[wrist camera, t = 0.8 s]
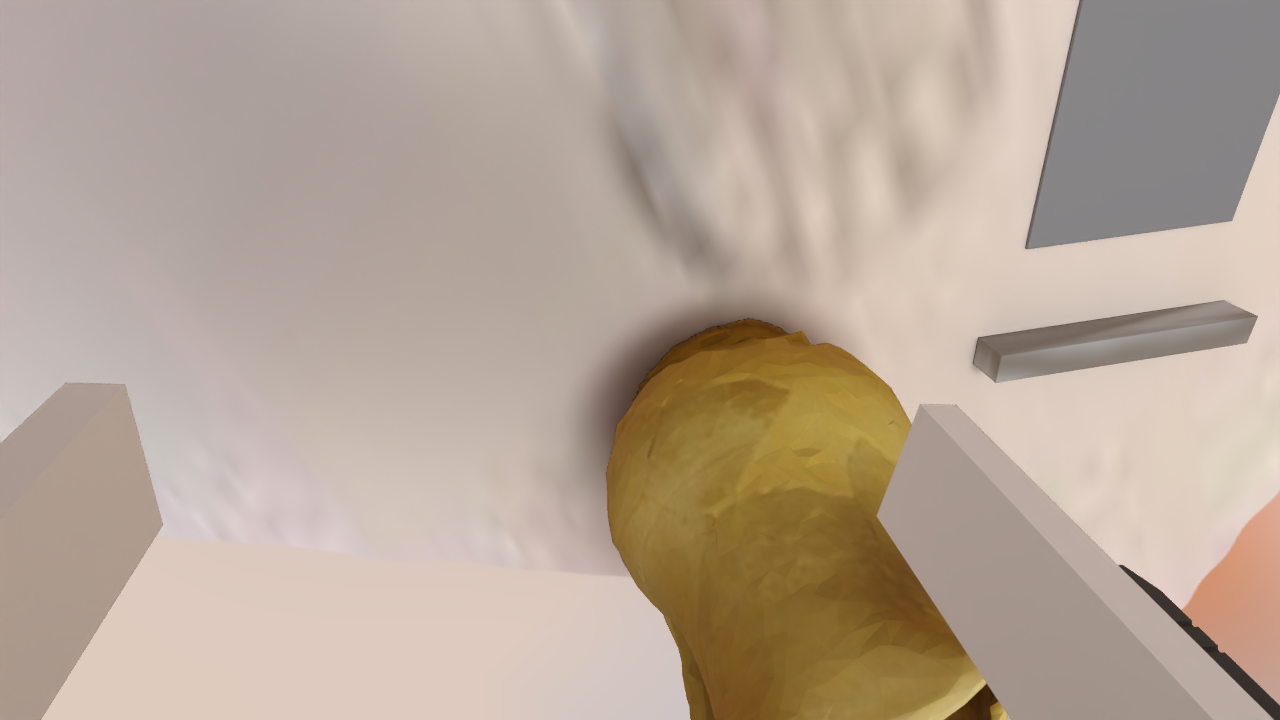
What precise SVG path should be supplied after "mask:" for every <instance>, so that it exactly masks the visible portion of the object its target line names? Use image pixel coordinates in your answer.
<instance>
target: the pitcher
mask: <svg viewBox="0 0 1280 720" xmlns="http://www.w3.org/2000/svg"><path fill="white" fill-rule="evenodd" d="M782 330H783V329H782V328H780V327H773V325H772V324H769V323H762V322H761V321H760V320H754V319H751V320H750V319H749V318H748V319H747V320H745V319H744V320H743V321H741V320H739V321H736V322H735V323H734V324H730V323H729V324H728V325H725V326H717V328H714V327H710V329H706V331H704V332H701V333H699V334H698V335H696V334H695V336H694V337H692V336H691V338H689V339H688V341H686V342H685V341H684V342H681V343H679V344H677V345H675V346H673V347H672V348H671V349H670V351H669V352H668V353H667V354H666V356H664V357H663V358H662V359H661V361H660V362H659V364H658V366H656V367H655V369H653V370H651V372H650V373H649V374H647V375H646V380H645V381H644V382H642V383H641V384H640V385H639V388H640V389H639V391H637V396H636V397H635V399H634V400H633V403H632V405H631V407H630V408H629V410H628V411H627V413H626V414H625V416H624V417H623V418H622V419H621V421H620V422H619V423H618V424H617V426H616V435H615V439H614V443H613V448H612V452H611V457H610V460H609V463H608V468H607V472H606V480H607V509H608V518H609V526H610V531H611V536H612V541H613V543H614V545H615V546H616V548H617V549H618V551H619V553H620V556H621V558H622V561H623V563H624V564H625V566H626V568H627V569H628V571H629V573H630V575H631V576H632V578H633V580H634V581H635V583H636V585H637V586H638V588H639V589H640V590H641V591H642V592H643V593H644V595H645V596H646V597H647V598H648V599H649V600H650V602H651V603H652V604H653V605H654V606H655V607H657V608H658V609H659V610H660V612H661V613H662V614H663V615H664V618H665V621H666V623H667V625H668V627H669V629H670V631H671V634H672V636H673V638H674V640H675V642H676V644H677V646H678V648H679V653H680V657H681V661H682V675H683V680H684V686H685V691H686V696H687V700H688V703H689V706H690V719H691V720H1006V719H1007V717H1008V715H1007V713H1006V712H1005V710H1004V709H1003V707H1002V706H1001V704H1000V703H999V701H998V700H997V698H996V697H995V695H994V693H993V692H992V690H991V689H990V687H989V686H988V684H987V683H986V681H985V680H984V678H983V677H982V675H981V674H980V672H979V671H978V669H977V668H976V666H975V665H974V663H973V662H972V660H971V659H970V657H969V656H968V654H967V653H966V651H965V650H964V648H963V646H962V645H961V643H960V642H959V640H958V639H957V637H956V636H955V634H954V633H953V631H952V630H951V628H950V627H949V625H948V624H947V622H946V621H945V619H944V618H943V616H942V615H941V613H940V612H939V610H938V609H937V607H936V606H935V604H934V603H933V601H932V600H931V598H930V596H929V595H928V593H927V592H926V590H925V589H924V587H923V586H922V584H921V583H920V581H919V580H918V578H917V577H916V575H915V574H914V572H913V571H912V569H911V568H910V566H909V565H908V563H907V562H906V560H905V559H904V557H903V556H902V554H901V553H900V551H899V549H898V548H897V546H896V545H895V543H894V542H893V540H892V539H891V537H890V536H889V534H888V533H887V531H886V530H885V528H884V527H883V525H882V524H881V522H880V521H879V519H878V518H877V513H878V511H879V508H880V506H881V503H882V501H883V498H884V495H885V493H886V490H887V488H888V485H889V483H890V480H891V477H892V475H893V472H894V470H895V467H896V465H897V462H898V459H899V457H900V454H901V452H902V449H903V447H904V444H905V441H906V439H907V436H908V434H909V431H910V429H911V426H912V425H911V422H910V420H909V419H908V417H907V415H906V413H905V411H904V409H903V408H902V406H901V404H900V402H899V400H898V399H897V397H896V395H895V394H894V392H893V390H892V389H891V387H890V386H888V385H887V384H886V383H885V382H884V381H883V380H882V379H881V378H880V377H878V376H877V375H876V374H875V373H874V372H872V371H871V370H870V369H869V368H868V367H867V366H865V365H864V364H863V363H861V362H860V361H859V360H857V359H856V358H855V357H854V356H852V355H851V354H849V353H848V352H846V351H844V350H843V349H841V348H839V347H836V346H834V345H832V344H829V343H823V344H817V345H810V343H809V341H808V340H807V338H806V337H805V335H804V333H803V332H802V331H799V332H796V333H792V334H787V333H786V332H784V331H782Z"/></svg>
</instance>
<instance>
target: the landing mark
mask: <svg viewBox="0 0 1280 720" xmlns="http://www.w3.org/2000/svg"><path fill="white" fill-rule="evenodd" d="M1279 94H1280V0H1080V4H1079V9H1078V13H1077V18H1076V22H1075V27H1074V31H1073V36H1072V40H1071V45H1070V49H1069V54H1068V58H1067V63H1066V67H1065V72H1064V76H1063V81H1062V85H1061V90H1060V95H1059V99H1058V104H1057V108H1056V113H1055V117H1054V122H1053V126H1052V131H1051V135H1050V140H1049V144H1048V149H1047V153H1046V158H1045V162H1044V167H1043V171H1042V176H1041V180H1040V185H1039V189H1038V194H1037V198H1036V203H1035V208H1034V212H1033V217H1032V221H1031V226H1030V230H1029V235H1028V239H1027V244H1026V249H1033V248H1040V247H1048V246H1055V245H1062V244H1069V243H1076V242H1084V241H1091V240H1098V239H1105V238H1112V237H1120V236H1127V235H1134V234H1141V233H1148V232H1156V231H1163V230H1170V229H1177V228H1185V227H1192V226H1199V225H1206V224H1213V223H1221V222H1228V221H1232V219H1233V217H1234V214H1235V211H1236V209H1237V206H1238V203H1239V201H1240V198H1241V195H1242V193H1243V190H1244V187H1245V185H1246V182H1247V179H1248V177H1249V174H1250V171H1251V169H1252V166H1253V163H1254V161H1255V158H1256V155H1257V153H1258V150H1259V147H1260V145H1261V142H1262V139H1263V137H1264V134H1265V131H1266V129H1267V126H1268V123H1269V121H1270V118H1271V115H1272V113H1273V110H1274V107H1275V105H1276V102H1277V99H1278V97H1279Z"/></svg>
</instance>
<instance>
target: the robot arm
mask: <svg viewBox="0 0 1280 720" xmlns="http://www.w3.org/2000/svg"><path fill="white" fill-rule="evenodd" d="M877 518H878V519H879V521H880V522H881V524H882V525H883V527H884V528H885V530H886V531H887V533H888V534H889V536H890V537H891V539H892V540H893V542H894V543H895V545H896V546H897V548H898V549H899V551H900V553H901V554H902V556H903V557H904V559H905V560H906V562H907V563H908V565H909V566H910V568H911V569H912V571H913V572H914V574H915V575H916V577H917V578H918V580H919V581H920V583H921V584H922V586H923V587H924V589H925V590H926V592H927V593H928V595H929V596H930V598H931V600H932V601H933V603H934V604H935V606H936V607H937V609H938V610H939V612H940V613H941V615H942V616H943V618H944V619H945V621H946V622H947V624H948V625H949V627H950V628H951V630H952V631H953V633H954V634H955V636H956V637H957V639H958V640H959V642H960V643H961V645H962V646H963V648H964V650H965V651H966V653H967V654H968V656H969V657H970V659H971V660H972V662H973V663H974V665H975V666H976V668H977V669H978V671H979V672H980V674H981V675H982V677H983V678H984V680H985V681H986V683H987V684H988V686H989V687H990V689H991V690H992V692H993V693H994V695H995V697H996V698H997V700H998V701H999V703H1000V704H1001V706H1002V707H1003V709H1004V710H1005V712H1006V713H1007V715H1008V716H1009V718H1010V719H1011V720H1280V705H1279V704H1278V703H1276V701H1274V700H1273V699H1272V698H1271V697H1270V696H1269V695H1268V694H1267V693H1266V692H1265V691H1264V690H1263V689H1262V688H1261V687H1260V686H1259V685H1258V684H1257V683H1256V682H1255V681H1254V680H1253V679H1252V678H1251V677H1250V676H1249V675H1248V674H1246V673H1245V672H1244V671H1243V670H1242V669H1241V668H1240V667H1239V666H1238V665H1237V664H1236V663H1235V662H1234V661H1233V660H1232V659H1231V658H1230V657H1229V656H1228V655H1227V654H1226V653H1221V652H1219V651H1218V645H1216V644H1215V643H1214V642H1213V641H1212V640H1211V639H1210V638H1209V637H1208V636H1207V635H1206V634H1205V633H1204V632H1203V631H1202V630H1201V629H1200V628H1199V627H1193V625H1192V621H1191V619H1189V618H1188V617H1187V616H1186V615H1185V614H1184V613H1183V612H1182V611H1181V610H1180V609H1179V608H1178V607H1177V606H1176V605H1175V604H1174V603H1173V602H1172V601H1171V600H1170V599H1169V598H1168V597H1167V596H1166V595H1165V594H1164V593H1163V592H1162V591H1161V590H1159V589H1158V588H1156V587H1155V586H1153V585H1152V584H1150V583H1149V582H1147V581H1146V580H1144V579H1143V578H1141V577H1140V576H1138V575H1137V574H1135V573H1134V572H1132V571H1131V570H1129V569H1128V568H1126V567H1125V566H1123V565H1117V564H1116V563H1115V562H1114V561H1113V560H1112V559H1111V558H1110V557H1109V556H1108V555H1107V554H1106V553H1105V552H1104V551H1103V550H1102V549H1101V548H1100V547H1099V546H1098V545H1097V544H1096V543H1095V542H1094V541H1093V540H1092V539H1091V538H1090V537H1089V536H1088V535H1087V534H1086V533H1085V532H1084V531H1083V530H1082V529H1081V528H1080V527H1079V526H1078V525H1077V524H1076V523H1075V522H1074V521H1073V520H1072V519H1071V518H1070V517H1069V516H1068V515H1067V514H1066V513H1065V512H1064V511H1063V510H1062V509H1061V508H1060V507H1059V506H1058V505H1057V504H1056V503H1055V502H1054V501H1053V500H1052V499H1051V498H1050V497H1049V496H1048V495H1047V494H1046V493H1045V492H1044V491H1043V490H1042V489H1041V488H1040V487H1039V486H1038V485H1037V484H1036V483H1035V482H1034V481H1033V480H1032V479H1031V478H1030V477H1029V476H1028V475H1027V474H1026V473H1025V472H1024V471H1023V470H1022V469H1021V468H1020V467H1019V466H1018V465H1017V464H1016V463H1015V462H1014V461H1012V460H1011V459H1010V458H1009V457H1008V456H1007V455H1006V454H1005V453H1004V452H1003V451H1002V450H1001V449H1000V448H999V447H998V446H997V445H996V444H995V443H994V442H993V441H992V440H991V439H990V438H989V437H988V436H987V435H986V434H985V433H984V432H983V431H982V430H981V429H980V428H979V427H978V426H977V425H976V424H975V423H974V422H973V421H972V420H971V419H970V418H969V417H968V416H967V415H966V414H965V413H964V412H963V411H962V410H961V409H960V408H959V407H958V406H957V405H942V404H920V405H919V408H918V411H917V413H916V416H915V418H914V421H913V423H912V426H911V429H910V431H909V434H908V436H907V439H906V441H905V444H904V447H903V449H902V452H901V454H900V457H899V459H898V462H897V465H896V467H895V470H894V472H893V475H892V477H891V480H890V483H889V485H888V488H887V490H886V493H885V495H884V498H883V501H882V503H881V506H880V508H879V511H878V513H877ZM162 526H163V522H162V519H161V515H160V511H159V508H158V504H157V500H156V497H155V493H154V489H153V485H152V482H151V478H150V474H149V471H148V467H147V463H146V460H145V456H144V452H143V448H142V445H141V441H140V437H139V434H138V430H137V426H136V423H135V419H134V415H133V411H132V408H131V404H130V400H129V397H128V393H127V389H126V386H125V384H97V383H65V384H64V385H63V386H62V387H61V388H59V389H58V390H57V391H56V392H55V393H54V394H53V395H52V396H51V397H50V398H49V399H48V400H47V401H46V402H44V403H43V404H42V405H41V406H40V407H39V408H38V409H37V410H36V411H35V412H34V413H33V414H32V415H31V416H29V417H28V418H27V419H26V420H25V421H24V422H23V423H22V424H21V425H20V426H19V427H18V428H17V429H15V430H14V431H13V432H12V433H11V434H10V435H9V436H8V437H7V438H6V439H5V440H4V441H3V442H2V443H0V720H41V719H42V717H43V716H44V714H45V713H46V711H47V709H48V708H49V706H50V705H51V703H52V701H53V700H54V698H55V696H56V695H57V693H58V692H59V690H60V689H61V687H62V685H63V684H64V682H65V680H66V679H67V677H68V675H69V674H70V673H71V671H72V669H73V668H74V666H75V665H76V663H77V661H78V660H79V658H80V657H81V655H82V653H83V652H84V650H85V648H86V647H87V645H88V644H89V642H90V640H91V639H92V637H93V636H94V634H95V633H96V631H97V629H98V628H99V626H100V625H101V623H102V622H103V620H104V618H105V617H106V615H107V613H108V612H109V610H110V609H111V607H112V605H113V604H114V602H115V601H116V599H117V597H118V596H119V594H120V593H121V591H122V589H123V588H124V586H125V585H126V583H127V582H128V580H129V578H130V576H131V575H132V574H133V572H134V570H135V569H136V567H137V565H138V564H139V562H140V561H141V559H142V558H143V556H144V554H145V553H146V551H147V550H148V548H149V546H150V545H151V543H152V541H153V540H154V538H155V537H156V535H157V534H158V532H159V530H160V529H161V527H162Z"/></svg>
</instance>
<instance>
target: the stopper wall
mask: <svg viewBox="0 0 1280 720" xmlns="http://www.w3.org/2000/svg"><path fill="white" fill-rule="evenodd" d="M1257 318H1258V316H1256V315H1254V314H1252V313H1250V312H1247V311H1245V310H1243V309H1241V308H1239V307H1237V306H1235V305H1232V304H1230V303H1228V302H1226V301H1218V302H1211V303H1205V304H1198V305H1191V306H1185V307H1178V308H1172V309H1165V310H1158V311H1152V312H1145V313H1139V314H1132V315H1125V316H1119V317H1112V318H1106V319H1099V320H1092V321H1086V322H1079V323H1072V324H1066V325H1059V326H1053V327H1046V328H1039V329H1033V330H1026V331H1020V332H1013V333H1006V334H1000V335H993V336H987V337H980V338H978V342H977V347H976V352H975V357H974V362H973V364H974V365H975V366H977V367H978V368H979V369H980V370H981V371H982V372H984V373H985V374H986V375H987V376H988V377H989V378H991V379H992V380H993V381H994V382H995V383H998V382H1004V381H1011V380H1017V379H1023V378H1030V377H1036V376H1042V375H1049V374H1055V373H1061V372H1067V371H1074V370H1080V369H1086V368H1093V367H1099V366H1105V365H1112V364H1118V363H1124V362H1130V361H1137V360H1143V359H1149V358H1156V357H1162V356H1168V355H1175V354H1181V353H1187V352H1193V351H1200V350H1206V349H1212V348H1219V347H1225V346H1231V345H1238V344H1244V343H1247V341H1248V339H1249V336H1250V334H1251V332H1252V329H1253V327H1254V325H1255V322H1256V320H1257Z"/></svg>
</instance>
